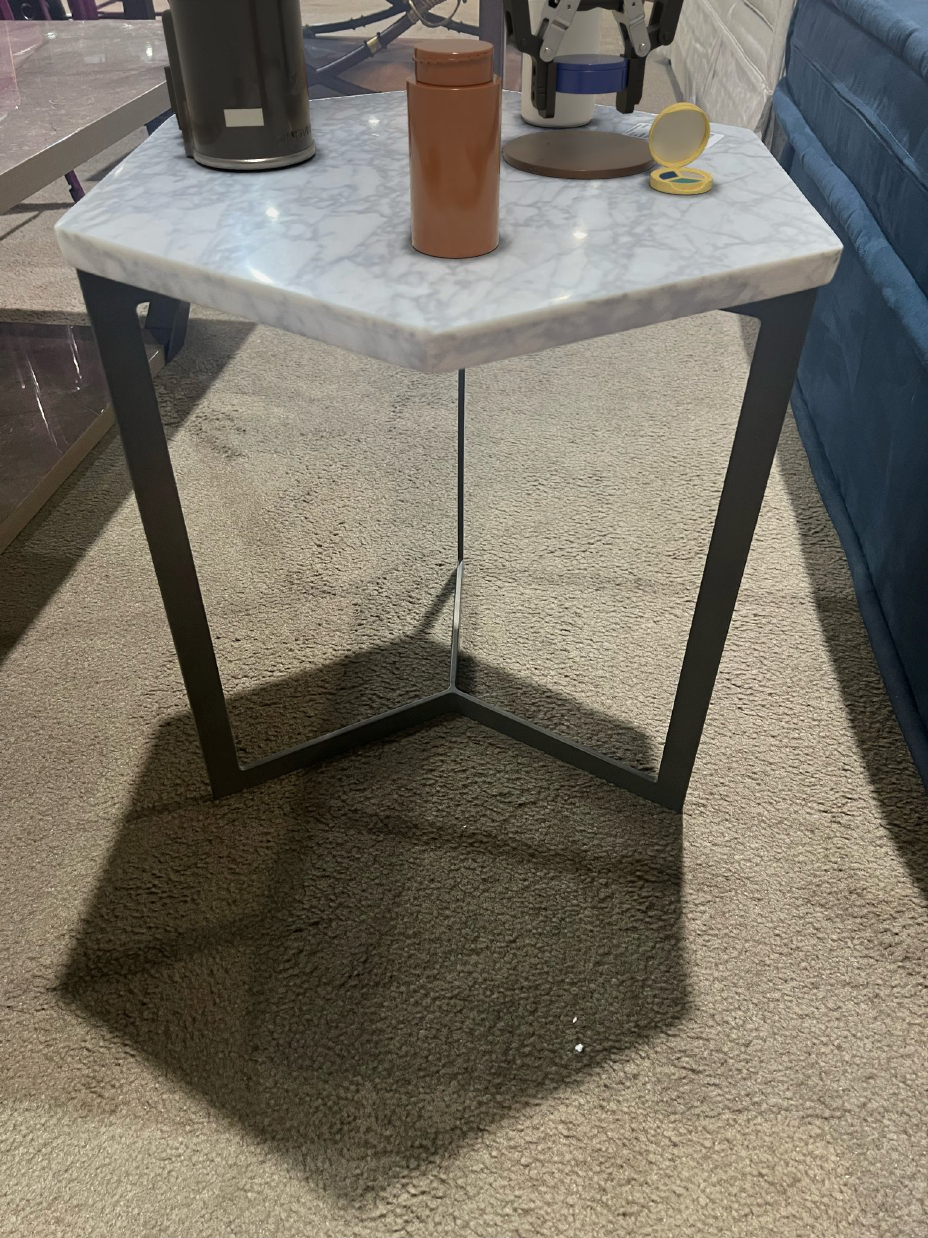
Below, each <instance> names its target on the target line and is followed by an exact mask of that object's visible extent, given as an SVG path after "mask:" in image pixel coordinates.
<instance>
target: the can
mask: <svg viewBox="0 0 928 1238" xmlns="http://www.w3.org/2000/svg"><path fill="white" fill-rule="evenodd" d="M545 1H546V0H528V3H529V13H530V22H531V32H532V34H534V35H535V33H536V30H537V28H538V25H539V23H540V20H541V12H542V9H543V6H544V4H545ZM555 2H556V0H555ZM603 11H604V9H603V8H600V7H597V8H594V9H591V10H589V11H576V13H575V15H574V18H573V20H572V23H571V25H570V27H569V28H568V29H567V30H566V31H565V33H564V36H563V38H562V41H561V43H560V45H559V48H558V50H557V53H556V55H555V57H556V56H562V55H573V54H600V50H601V37H602V27H603V25H602V24H603V13H604V12H603ZM521 68H522V70H521V97H520V98H521V100H520V101H521V103H520V115H521V117H522V118H523V120H524V122H526V123H527V124H528V125H529V124H530V125H532V126H536V127H540V128H541V127H542V128H551V129H552V128H553V129H554V128H555V129H556V128H557V129H565V128H566V129H567V128H576V127H582V126H586V125H588V124H589V123H590V122H591V120H592V119H593V118H594V115H595V108H596V97H597V94H568V93H560V92H556V102H555V116H554V118H549V119H544V118H542V117H541V116H540V115H539V114H538V110H537V109H536V108H534V107H533V105H532V102H531V76H532V59H531V57H530V55H528V54H526V53H523V52H522V67H521Z"/></svg>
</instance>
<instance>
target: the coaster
mask: <svg viewBox="0 0 928 1238" xmlns="http://www.w3.org/2000/svg"><path fill="white" fill-rule="evenodd" d="M502 154H503V159H504V161H505V162H506V163H507V164H509V165H510V166H512V167H513V168H516V169H519V170H521V171H524V172H528V173H531V174H535V175H540V176H546V177H551V178H552V177H553V178H562V179H576V180H577V179H578V180H594V179H595V180H597V179H598V180H599V179H612V178H620V177H625V176H626V177H627V176H631V175H635V174H636V175H637V174H639V173H642V172H646V171H648V170H649V169H651V168H652V167H654V166H655V165H656V163H657V162H656V161H655V160H654V158H653V157H652V155H651V152H650V149H649V141H646V140H643V139H641V138H638V137H635V136H631V135H627V134H623V133H616V132H609V131H602V130H601V131H600V130H587V129H586V130H585V129H584V130H583V129H560V130H559V129H558V130H546V131H537V132H532V133H527V134H524V135H520V136H517V137H514V138H512V139H510V140H509V141H507V142H506V143H505V144H504V145H503V153H502Z"/></svg>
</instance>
